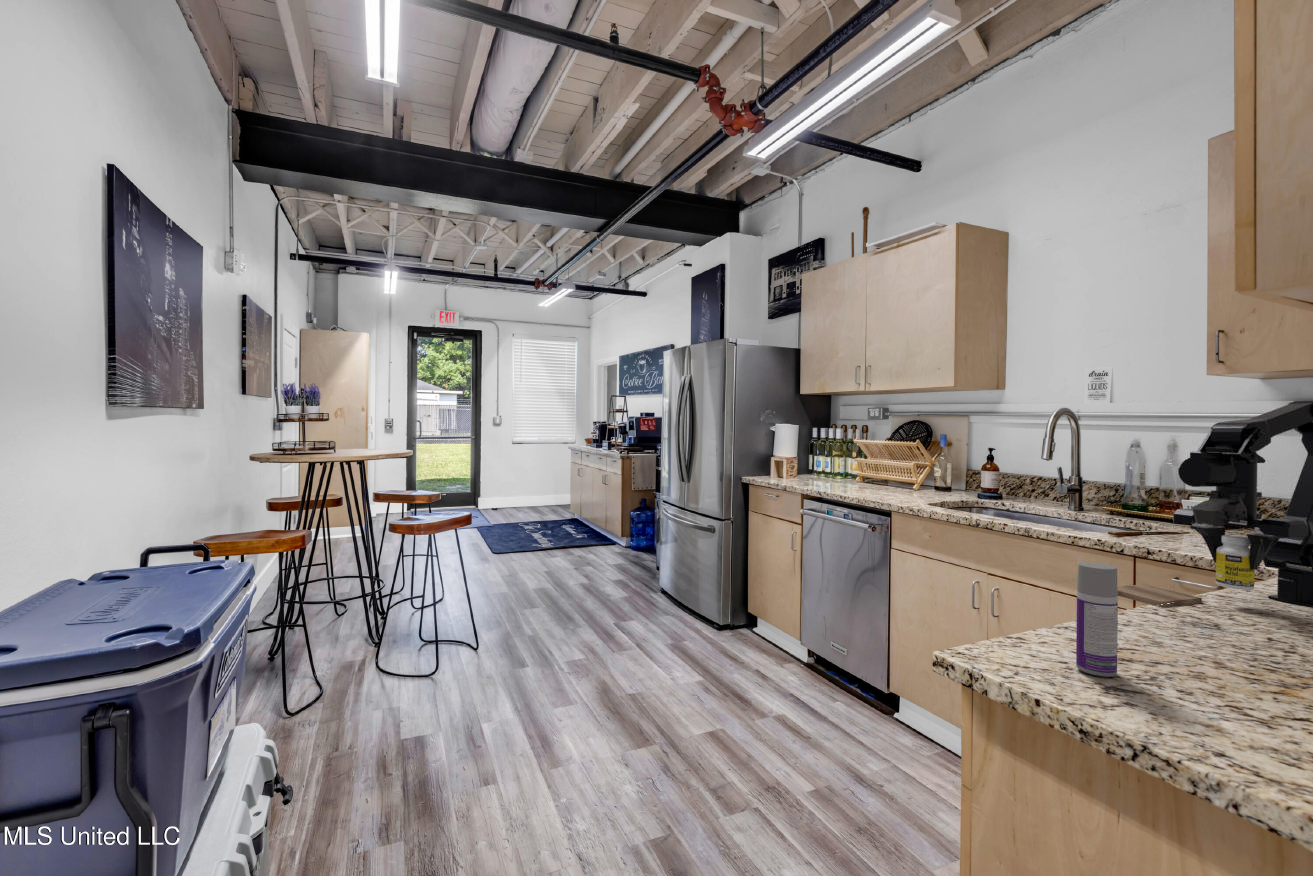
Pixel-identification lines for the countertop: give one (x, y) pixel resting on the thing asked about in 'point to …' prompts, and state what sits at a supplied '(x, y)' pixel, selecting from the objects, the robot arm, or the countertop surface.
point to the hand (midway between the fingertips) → (1235, 566)
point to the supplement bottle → (1234, 563)
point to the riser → (1156, 595)
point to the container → (1097, 619)
